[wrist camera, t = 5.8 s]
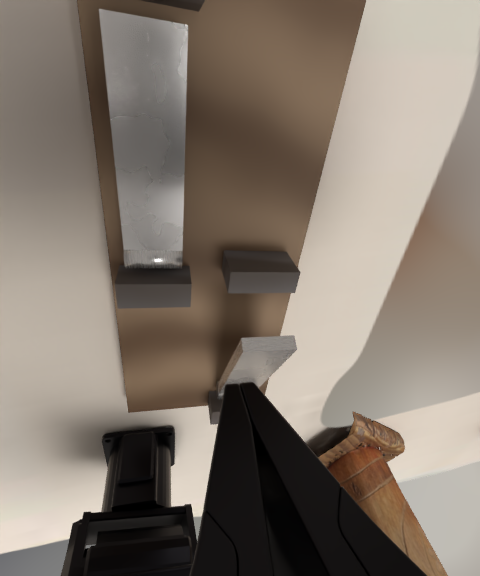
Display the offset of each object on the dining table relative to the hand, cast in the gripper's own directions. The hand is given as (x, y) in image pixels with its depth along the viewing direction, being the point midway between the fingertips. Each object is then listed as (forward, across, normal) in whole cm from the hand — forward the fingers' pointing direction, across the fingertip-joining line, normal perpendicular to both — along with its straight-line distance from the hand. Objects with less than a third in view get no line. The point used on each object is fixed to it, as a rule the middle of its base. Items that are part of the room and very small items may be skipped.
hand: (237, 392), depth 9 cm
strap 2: (+11, +3, -4) cm, 12 cm away
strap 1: (+9, -3, +8) cm, 13 cm away
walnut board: (+12, -1, +2) cm, 13 cm away
